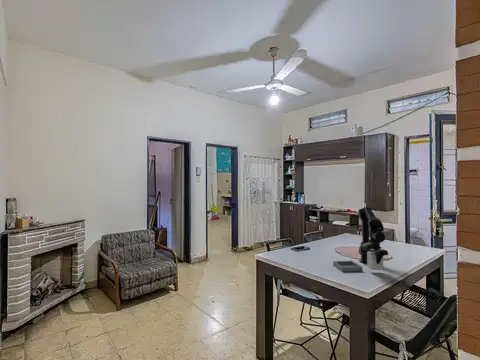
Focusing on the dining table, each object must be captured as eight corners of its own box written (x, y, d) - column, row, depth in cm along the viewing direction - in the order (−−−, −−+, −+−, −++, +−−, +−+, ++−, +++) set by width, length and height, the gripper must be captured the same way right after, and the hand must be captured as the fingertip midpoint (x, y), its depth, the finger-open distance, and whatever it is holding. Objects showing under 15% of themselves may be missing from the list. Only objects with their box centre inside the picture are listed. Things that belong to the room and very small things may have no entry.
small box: (378, 267, 174) (378, 251, 174) (383, 269, 169) (383, 253, 169) (367, 267, 174) (366, 251, 174) (371, 270, 168) (371, 253, 168)
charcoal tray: (333, 265, 187) (333, 261, 187) (352, 264, 188) (351, 260, 188) (342, 272, 173) (342, 267, 173) (362, 271, 174) (362, 267, 174)
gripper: (355, 236, 180) (356, 258, 180) (371, 242, 161) (371, 267, 161) (371, 235, 181) (371, 258, 181) (388, 241, 162) (388, 267, 162)
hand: (375, 262), depth 171 cm, fingers closed on small box, 6 cm apart
